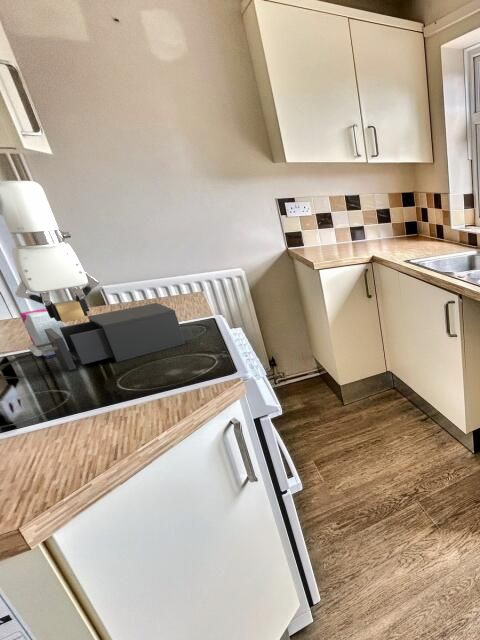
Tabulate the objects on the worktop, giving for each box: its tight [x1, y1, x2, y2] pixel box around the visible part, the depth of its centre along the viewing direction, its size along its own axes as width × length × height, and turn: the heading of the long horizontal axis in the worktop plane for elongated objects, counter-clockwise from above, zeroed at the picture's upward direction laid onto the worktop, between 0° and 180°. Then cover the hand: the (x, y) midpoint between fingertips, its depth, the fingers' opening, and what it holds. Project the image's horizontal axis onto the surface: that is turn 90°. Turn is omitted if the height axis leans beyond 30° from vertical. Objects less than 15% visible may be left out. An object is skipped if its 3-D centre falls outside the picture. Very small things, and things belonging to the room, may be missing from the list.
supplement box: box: [19, 307, 70, 359], centre depth 109 cm, size 6×6×12 cm
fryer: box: [87, 302, 186, 363], centre depth 111 cm, size 15×14×10 cm
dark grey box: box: [27, 321, 114, 371], centre depth 103 cm, size 17×12×8 cm
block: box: [52, 299, 86, 323], centre depth 100 cm, size 4×4×4 cm
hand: (71, 316), depth 101 cm, fingers closed on block, 4 cm apart
